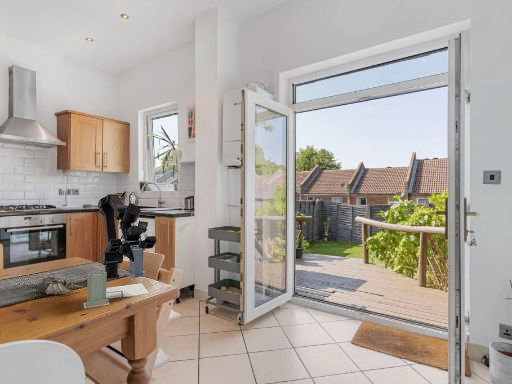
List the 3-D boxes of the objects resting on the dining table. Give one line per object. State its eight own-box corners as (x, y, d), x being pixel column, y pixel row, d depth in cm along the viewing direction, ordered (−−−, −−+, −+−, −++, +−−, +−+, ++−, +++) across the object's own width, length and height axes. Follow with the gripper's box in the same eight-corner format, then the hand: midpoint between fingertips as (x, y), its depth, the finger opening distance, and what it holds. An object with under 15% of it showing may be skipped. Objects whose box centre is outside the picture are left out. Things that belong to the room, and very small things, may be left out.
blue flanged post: (126, 274, 120) (127, 247, 120) (140, 272, 124) (140, 246, 124) (131, 278, 116) (132, 250, 116) (145, 275, 120) (146, 248, 120)
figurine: (76, 271, 132) (92, 279, 121) (75, 285, 132) (90, 294, 121) (20, 277, 117) (33, 287, 106) (19, 293, 116) (31, 304, 106)
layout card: (81, 292, 120) (81, 290, 120) (141, 284, 132) (141, 283, 132) (83, 309, 102) (84, 308, 102) (152, 298, 114) (152, 297, 114)
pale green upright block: (87, 306, 103) (88, 275, 104) (86, 303, 107) (87, 272, 107) (106, 303, 107) (107, 273, 107) (105, 300, 110) (106, 270, 110)
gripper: (110, 218, 117) (118, 251, 109) (155, 217, 129) (166, 246, 121) (103, 236, 123) (111, 268, 114) (148, 233, 135) (157, 262, 127)
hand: (137, 260), depth 119 cm, fingers closed on blue flanged post, 3 cm apart
